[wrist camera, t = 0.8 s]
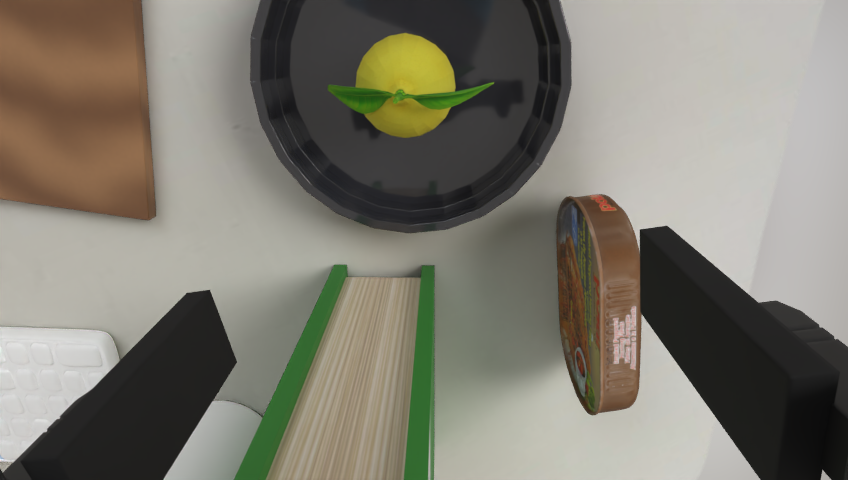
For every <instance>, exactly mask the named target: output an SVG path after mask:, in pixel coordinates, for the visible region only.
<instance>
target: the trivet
mask: <svg viewBox="0 0 848 480" xmlns="http://www.w3.org/2000/svg"><path fill="white" fill-rule="evenodd" d="M0 199H5V200H12V201H19V202H25V203H32V204H39V205H46V206H53V207H60V208H67V209H74V210H81V211H88V212H94V213H101V214H108V215H115V216H122V217H129V218H136V219H143V220H150V219H152V218H154V217H155V216H156V206H155V192H154V178H153V163H152V149H151V134H150V120H149V106H148V91H147V77H146V63H145V48H144V34H143V20H142V5H141V0H0Z"/></svg>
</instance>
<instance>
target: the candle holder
mask: <svg viewBox="0 0 848 480" xmlns="http://www.w3.org/2000/svg"><path fill="white" fill-rule="evenodd" d="M261 421H262V417H261V416H260V415H259V414H258V413H256V412H255V411H253V410H252V409H250V408H248V407H246V406H244V405H241V404H238V403H235V402H230V401H212V403H211V404H210V406H209V408H208V409H207V411H206V412H205V414H204V415H203V417H202V419H201V420H200V422H199V423H198V425H197V427H196V428H195V430H194V431H193V433H192V435H191V436H190V438H189V439H188V441H187V443H186V444H185V446H184V447H183V449H182V451H181V452H180V454H179V455H178V457H177V459H176V460H175V462H174V463H173V465H172V467H171V468H170V470H169V471H168V473H167V475H166V476H165V478H164V479H163V480H234V478H235V476H236V474H237V472H238V470H239V467H240V465H241V463H242V461H243V459H244V457H245V455H246V453H247V450H248V448H249V446H250V444H251V442H252V440H253V438H254V435H255V433H256V431H257V429H258V427H259V425H260V423H261Z"/></svg>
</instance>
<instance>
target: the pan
mask: <svg viewBox="0 0 848 480" xmlns="http://www.w3.org/2000/svg"><path fill="white" fill-rule="evenodd" d="M402 33H408V34H412V35H416V36H421V37H423V38H424V39H426V40H428V41H430V42H432V43H433V44H435V45H436V46H437V47H438V48H439V49H440V50H441V51H442V52H443V53H444V54H445V55H446V56H447V58H448V60H449V62H450V64H451V66H452V68H453V71H454V78H455V86H456V88H455V91H460V90H465V89H470V88H474V87H477V86H481V85H485V84H488V83H492V82H494V84H492V85H491V86H489V87H487V88H486V89H484V90H482V91H481V92H479V93H478V94H476V95H475V96H473V97H471V98H470V99H468V100H466V101H464V102H462V103H460V104H458V105H456V106H453V107H451V108H450V110H449V112H448V114H447V116H446V118H445V119H444V120H443V121H442V122H441V123H440V124H439V125H438V126H436V127H435V128H434V129H433V130H431V131H429V132H427V133H425V134H423V135H421V136H416V137H409V138H403V137H397V136H391V135H389V134H387V133H385V132H383V131H380V130H378V129H377V128H376V127H375V126H374V125H373V124H372V123H371V122H370V121H369V120H368V119H367V118H366V117H365V115H364V114H362V113H359V112H357V111H355V110H353V109H352V108H350V107H348V106H347V105H346V104H344V103H343V102H342V101H340V100H339V99H338V98H337V97H336V96H334V95H333V94H332V93H331V92H329V91H328V85H337V86H344V87H356V76H357V70H358V68H359V66H360V63H361V61H362V58H363V56H364V55H365V54H366V53H367V52H368V51H369V50H370V49H371V47H372V46H373V45H374V44H375V43H377V42H379V41H381V40H382V39H384V38H386V37H388V36H391V35H397V34H402ZM570 41H571V39H570V35H569V32H568V28H567V24H566V20H565V17H564V13H563V9H562V5H561V2H560V0H260V4H259V8H258V11H257V15H256V19H255V23H254V26H253V30H252V34H251V71H250V80H251V86H252V90H253V94H254V99H255V103H256V107H257V111H258V115H259V119H260V123H261V125H262V127H263V129H264V131H265V133H266V135H267V137H268V139H269V141H270V143H271V145H272V147H273V149H274V151H275V153H276V155H277V157H278V159H279V160H280V162H281V163H282V164H283V165H284V166H285V167H286V168H287V170H288V171H289V172H290V173H291V174H292V175H293V177H294V178H295V179H296V180H297V181H298V182H299V184H300V185H301V186H302V187H303V188H304V189H305V190H306V191H307V192H308V193H309V194H311V195H312V196H313V197H315V198H316V199H318V200H319V201H320V202H322V203H323V204H325V205H326V206H327V207H329V208H330V209H331V210H333V211H334V212H336V213H338V214H340V215H342V216H344V217H347V218H349V219H352V220H354V221H357V222H359V223H362V224H364V225H367V226H369V227H373V228H376V229H383V230H390V231H397V232H404V233H417V232H427V231H437V230H446V229H450V228H452V227H455V226H458V225H461V224H464V223H466V222H469V221H472V220H475V219H478V218H480V217H482V216H484V215H486V214H487V213H489V212H490V211H492V210H493V209H495V208H496V207H498V206H499V205H501V204H502V203H504V202H505V201H507V200H508V199H510V198H511V197H513V196H514V195H515V194H516V193H517V192H518V191H519V190H520V188H521V187H522V186H523V185H524V184H525V183H526V182H527V181H528V180H529V178H530V177H531V176H532V175H533V174H534V173H535V172H536V171H537V170H538V169H539V167H540V166H541V165H542V163H543V161H544V159H545V157H546V156H547V154H548V152H549V150H550V148H551V146H552V144H553V142H554V141H555V139H556V137H557V135H558V133H559V131H560V128H561V126H562V122H563V118H564V114H565V110H566V106H567V102H568V98H569V94H570V90H571V42H570Z"/></svg>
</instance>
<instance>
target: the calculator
mask: <svg viewBox="0 0 848 480" xmlns="http://www.w3.org/2000/svg"><path fill="white" fill-rule="evenodd" d="M119 361H120V360H119V356H118V352H117V349H116V346H115V343H114V341H113V339H112V337H111V336H110V335H109V334H108V333H106V332H103V331H99V330H85V329H56V328H26V327H0V462H14V461H15V460H16V459H17V458H18V457H19V456H20V455H21V454H22V453H23V452H24V451H25V450H26V449H27V448H28V447H29V446H30V445H31V444H32V443H33V442H34V441H35V440H36V439H37V438H38V437H39V436H40V435H41V434H42V433H43V432H47V428H48V427H49V426H50V425H51V424H52V423H53V422H54V421H55V420H56V419H60V415H61V414H62V413H63V412H64V411H65V410H66V409H67V408H68V407H69V406H70V405H71V404H72V403H73V402H74V401H76V400H77V399H78V398H80V397H81V396H83V395H84V394H86V393H87V392H89V391H90V390H91V389H93V388H94V387H95V386H96V385H97V383H98V382H99V381H100V380H101V379H102V378H103V377H104V376H105V375H106V374H107V373H108V372H109V371H110V370H111V369H112V368H113V367H114V366H115V365H116V364H117V363H118V362H119Z"/></svg>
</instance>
